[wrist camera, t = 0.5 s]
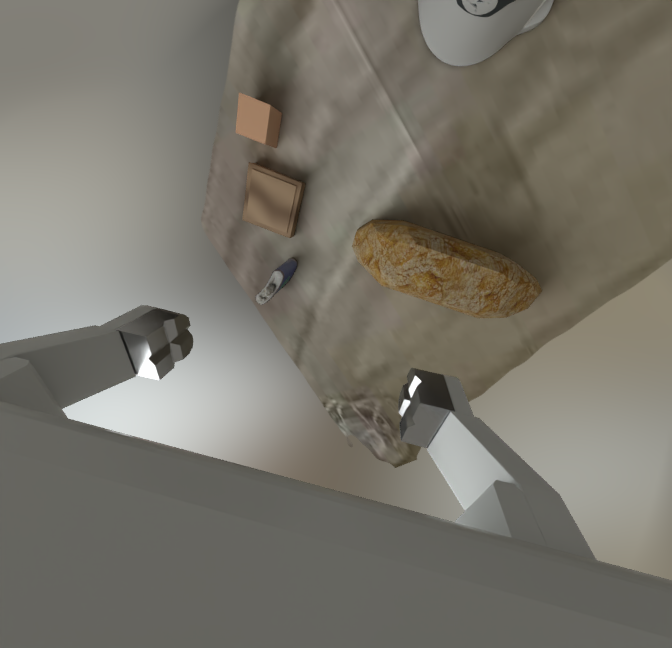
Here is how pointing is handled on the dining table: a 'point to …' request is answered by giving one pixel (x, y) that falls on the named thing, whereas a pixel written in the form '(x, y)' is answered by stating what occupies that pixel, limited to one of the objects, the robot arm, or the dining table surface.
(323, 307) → the dining table surface
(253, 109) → the terracotta block
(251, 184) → the walnut plinth
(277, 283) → the flask
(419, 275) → the bread
